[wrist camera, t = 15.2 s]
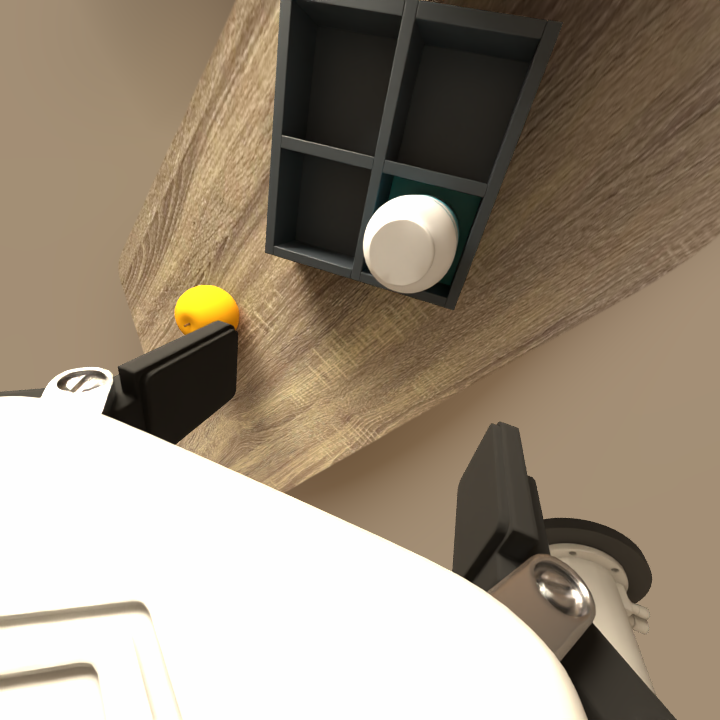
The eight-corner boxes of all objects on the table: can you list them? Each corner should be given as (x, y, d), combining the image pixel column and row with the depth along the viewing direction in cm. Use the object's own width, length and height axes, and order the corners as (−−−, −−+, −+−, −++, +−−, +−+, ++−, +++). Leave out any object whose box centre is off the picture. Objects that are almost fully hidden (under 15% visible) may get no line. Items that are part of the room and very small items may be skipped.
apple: (257, 323, 48) (224, 343, 41) (221, 339, 51) (185, 361, 45) (227, 271, 45) (187, 284, 39) (191, 292, 49) (148, 307, 42)
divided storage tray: (546, 54, 27) (563, 21, 22) (456, 294, 38) (453, 310, 32) (313, 14, 30) (281, -22, 25) (290, 245, 41) (264, 252, 36)
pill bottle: (402, 278, 37) (370, 317, 26) (379, 212, 35) (332, 222, 24) (469, 255, 34) (466, 287, 23) (448, 181, 32) (434, 174, 20)
